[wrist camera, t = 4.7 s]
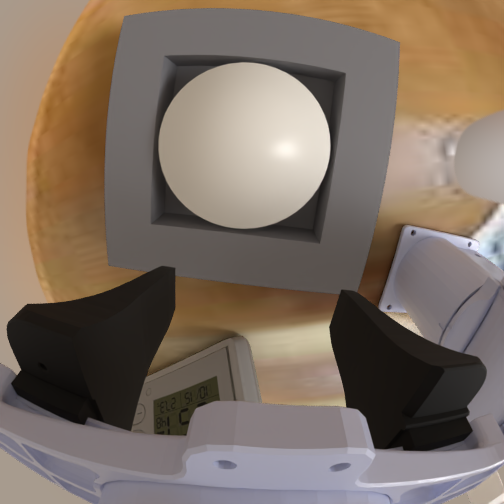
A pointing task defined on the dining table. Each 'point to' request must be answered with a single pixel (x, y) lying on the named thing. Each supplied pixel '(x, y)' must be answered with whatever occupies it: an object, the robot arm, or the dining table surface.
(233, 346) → the digital clock
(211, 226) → the button housing
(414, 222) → the dining table surface
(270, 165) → the button cap
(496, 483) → the milk
